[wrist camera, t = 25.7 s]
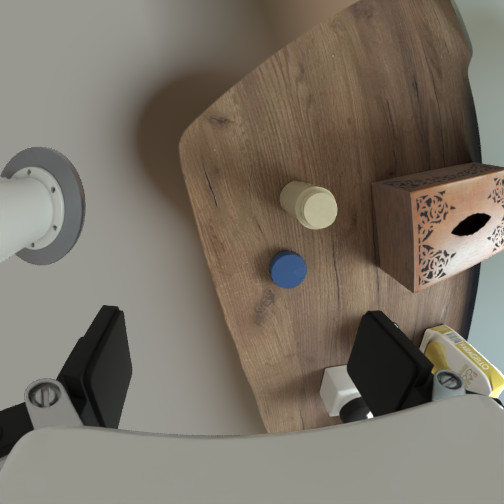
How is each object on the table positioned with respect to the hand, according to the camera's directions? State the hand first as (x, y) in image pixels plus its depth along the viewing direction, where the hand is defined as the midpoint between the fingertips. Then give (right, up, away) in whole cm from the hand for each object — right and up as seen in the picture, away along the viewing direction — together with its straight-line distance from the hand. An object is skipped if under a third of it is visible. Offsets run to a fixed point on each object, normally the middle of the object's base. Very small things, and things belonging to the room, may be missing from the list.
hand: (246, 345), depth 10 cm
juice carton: (+40, -16, +43) cm, 61 cm away
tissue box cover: (+32, +11, +33) cm, 48 cm away
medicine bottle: (+17, -22, +42) cm, 50 cm away
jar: (+6, +11, +30) cm, 32 cm away
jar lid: (+5, +1, +31) cm, 32 cm away
